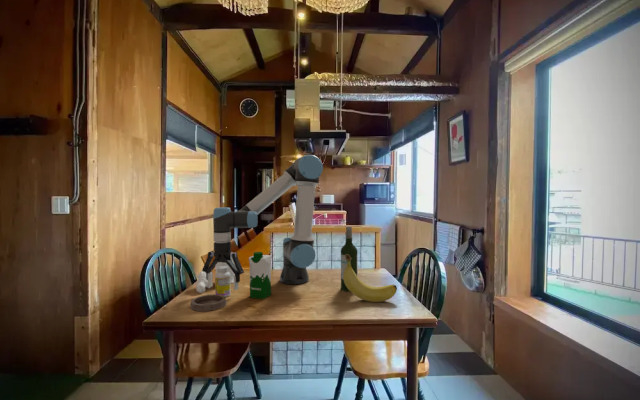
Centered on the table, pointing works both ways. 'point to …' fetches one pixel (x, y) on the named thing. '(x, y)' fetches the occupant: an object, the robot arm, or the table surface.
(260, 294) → the milk carton
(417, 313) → the table surface
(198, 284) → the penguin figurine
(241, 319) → the table surface
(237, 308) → the table surface
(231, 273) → the jar
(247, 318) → the table surface
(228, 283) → the supplement bottle
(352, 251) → the wine bottle
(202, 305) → the dish
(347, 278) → the banana
